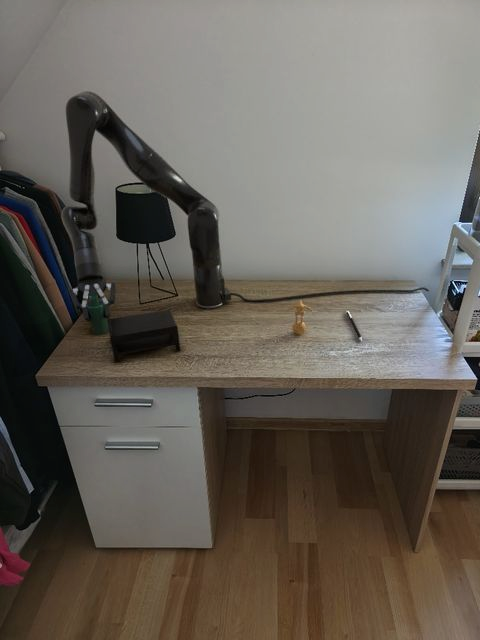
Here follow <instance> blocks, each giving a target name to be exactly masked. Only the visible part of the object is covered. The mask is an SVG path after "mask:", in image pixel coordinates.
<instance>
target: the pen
mask: <svg viewBox="0 0 480 640" xmlns="http://www.w3.org/2000/svg"><path fill="white" fill-rule="evenodd" d="M346 316H347V317H348V320H349V321H350V323H351V326H352V328H353V330H354V332H355V334H356V336H357V338H358V340H359V341H360V342H363V337H362V335H361V333H360V331H359V329H358V327H357V325H356V323H355V321H354V318H353V317H352V315H351V313H350V311H349V310H346Z"/></svg>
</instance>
